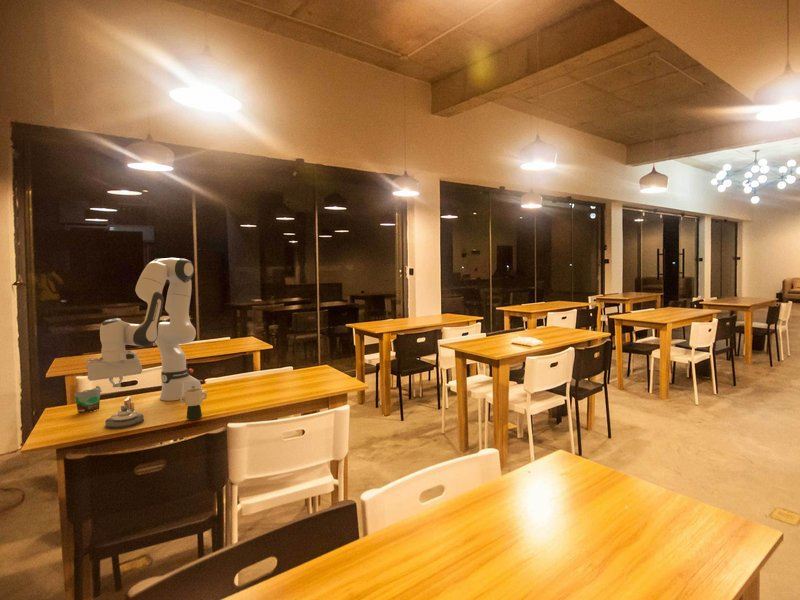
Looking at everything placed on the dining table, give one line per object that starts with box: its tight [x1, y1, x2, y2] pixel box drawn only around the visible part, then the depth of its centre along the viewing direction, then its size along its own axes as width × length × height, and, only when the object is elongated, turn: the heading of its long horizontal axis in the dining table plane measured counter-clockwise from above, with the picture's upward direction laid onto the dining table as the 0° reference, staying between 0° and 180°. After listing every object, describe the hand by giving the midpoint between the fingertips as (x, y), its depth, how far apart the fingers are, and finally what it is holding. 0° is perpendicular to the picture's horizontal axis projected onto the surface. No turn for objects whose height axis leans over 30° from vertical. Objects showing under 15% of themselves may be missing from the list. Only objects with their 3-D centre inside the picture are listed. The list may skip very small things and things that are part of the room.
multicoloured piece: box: [110, 396, 139, 422], centre depth 191 cm, size 14×10×7 cm
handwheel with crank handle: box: [104, 401, 145, 430], centre depth 189 cm, size 14×14×8 cm
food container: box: [73, 385, 102, 414], centre depth 207 cm, size 12×6×10 cm, turn 168°
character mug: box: [179, 387, 208, 421], centre depth 193 cm, size 11×7×13 cm, turn 128°
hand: (116, 386), depth 194 cm, fingers closed
